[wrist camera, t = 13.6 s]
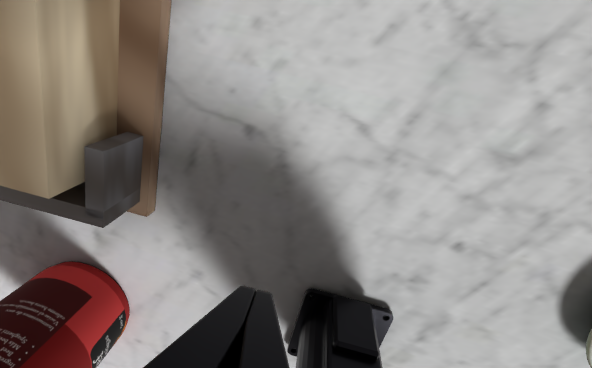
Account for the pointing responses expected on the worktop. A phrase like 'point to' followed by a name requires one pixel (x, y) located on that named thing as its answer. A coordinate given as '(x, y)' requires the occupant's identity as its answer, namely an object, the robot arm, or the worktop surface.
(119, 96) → the frame
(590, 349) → the saucer
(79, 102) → the beige wooden bar
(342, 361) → the robot arm
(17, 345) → the canned food
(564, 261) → the worktop surface
